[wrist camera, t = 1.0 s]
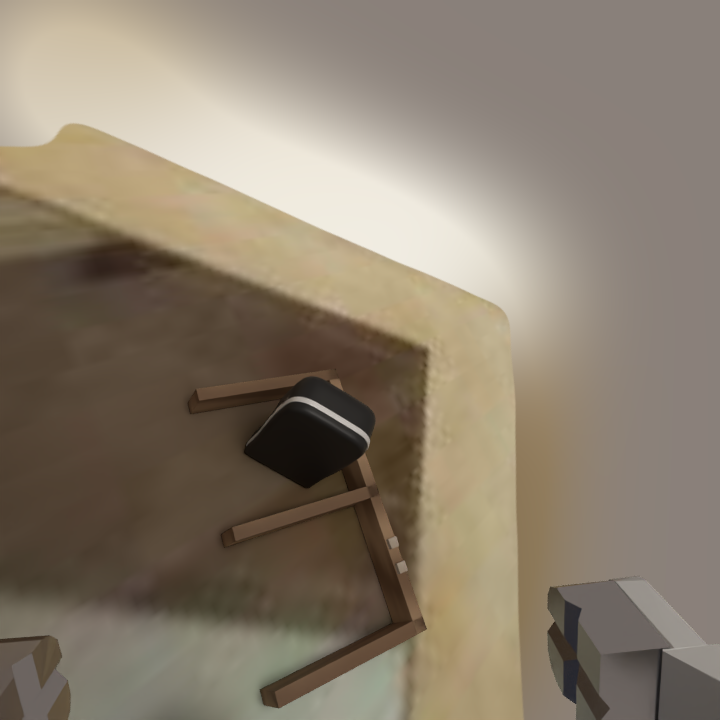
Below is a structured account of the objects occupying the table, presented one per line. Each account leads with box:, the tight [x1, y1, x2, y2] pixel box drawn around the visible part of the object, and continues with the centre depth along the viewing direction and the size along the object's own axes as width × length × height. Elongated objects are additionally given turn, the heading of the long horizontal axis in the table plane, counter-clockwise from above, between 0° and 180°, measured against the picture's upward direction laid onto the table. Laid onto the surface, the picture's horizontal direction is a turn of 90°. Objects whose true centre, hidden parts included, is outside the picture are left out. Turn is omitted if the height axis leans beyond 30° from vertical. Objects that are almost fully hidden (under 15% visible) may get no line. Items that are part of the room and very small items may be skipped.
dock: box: [188, 369, 427, 708], centre depth 43 cm, size 23×13×3 cm, turn 20°
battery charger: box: [245, 376, 375, 488], centre depth 42 cm, size 7×4×11 cm, turn 68°
